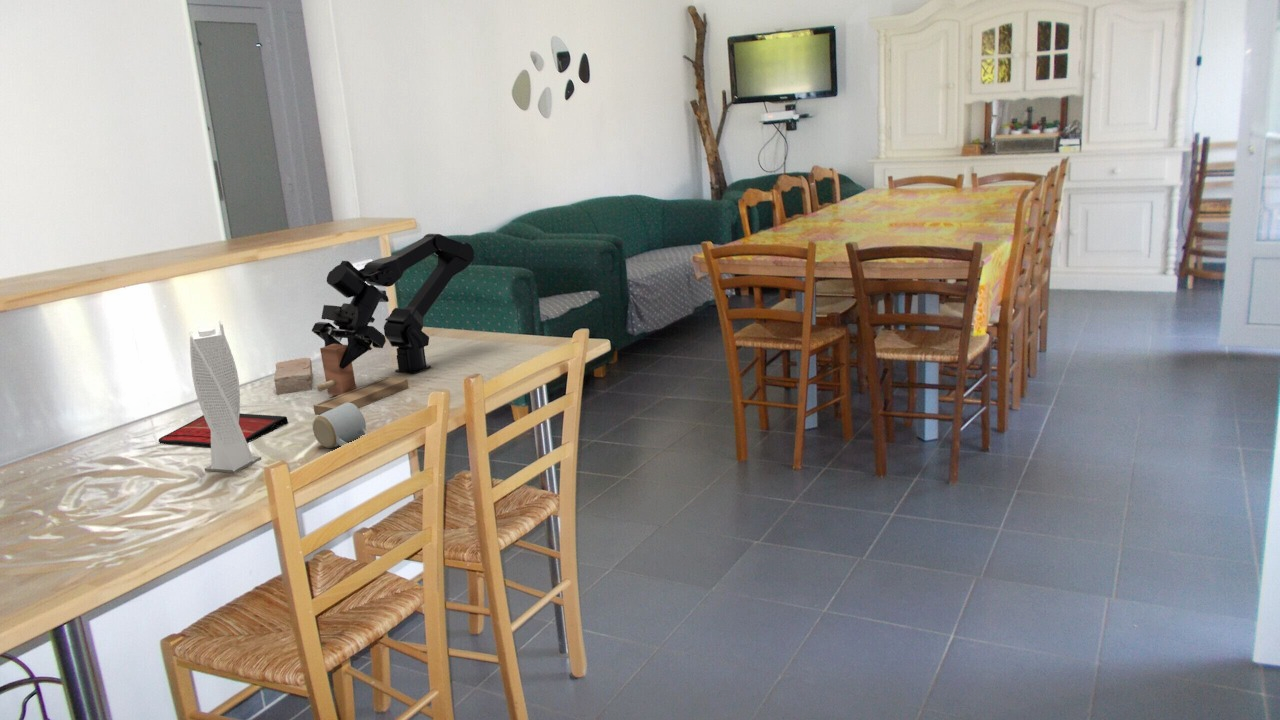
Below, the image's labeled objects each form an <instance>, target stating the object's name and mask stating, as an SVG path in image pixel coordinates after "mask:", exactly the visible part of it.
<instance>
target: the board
mask: <svg viewBox="0 0 1280 720" xmlns="http://www.w3.org/2000/svg"><path fill="white" fill-rule="evenodd" d="M408 388H409V382H408V379H406V378H398V377H390V376H389V377H388V376H387V377H384V378H382V379H378V380H376V381H373V382H370V383H368V384H366V385H363V386H360V387H356V389H355V390H352V391H349V392H347V393H344V394H341V395H339V396H337V395H335V396H333V397H331V398H328V399H325V400H323V401H319V402H317V403H315V404H313V411H314V415H318V416H319V415H321V414H322V413H324V412H327V411H329V410H331V409H334V408H336V407H338V406H340V405H342V404H344V403H352V404H354V405H355V406H357V407H358V408H359V409H360V408H361V407H362V408H363V407H365V406H366V405H369V404H371V403H374V402H376V401H378V400H381V399H383V398H386V397H389V396H392V395H393V394H396V393H399V392H401V391H403V390H406V389H408Z"/></svg>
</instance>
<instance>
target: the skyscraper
mask: <svg viewBox="0 0 1280 720" xmlns="http://www.w3.org/2000/svg"><path fill="white" fill-rule="evenodd" d="M218 324H219V325H218V326H219V329H218V330H216V327H208V328H207V327H206V328H202V329H199V330H198V333H193V332H192V331H190V332H189V334H188V335H189V351H190V352H189V353H190V354H189V355H190V368H191V375H192V376H191V377H192V381H193V387H194V391H195V396H196V397H197V398H196V399H197V401H198V404H199V406H200V410H201V412H202V416H203V415H204V417H205V420H206V422H207V424H208V426H209V428H210V430H211V447H210V464H211V465H209V466H207V467H206V468H204V471H205V472H216V473H217V472H218V473H228V474H229V473H230V474H235V473H236V474H237V473H238V472H240V471H242V470H244V469H246V468H248V467H249V466H251V465H253V464H255V463H256V462H258V461H259V462H260V461H261V460H262V457H261V456H254V455H253V454H252V452H251V449H250V447H249V445H248V442H246V439H245V437H244V435H243V432H242V430H241V428H240V426H239V414H240V411H241V390H240V389H241V388H240V387H241V386H240V381H239V374H238V370H237V365H236V362H235V358H234V355H233V354H232V350H231V348H230V345H229V342H228V341H227V340H228V339H227V337H226V335H225V331H224V324H223V321H222V320H221V319H220V320H218Z"/></svg>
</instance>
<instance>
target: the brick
mask: <svg viewBox="0 0 1280 720" xmlns="http://www.w3.org/2000/svg"><path fill="white" fill-rule="evenodd" d="M274 372H275V373H274V374H273V375H274V377H273V378H274V385H275V392H276V395H286V394H291V393H292V394H293V393H299V392H306V391H311V390H312V389H313V365H312V360H311V358H310V357H299V358H295V359H289V360H284V361H279V362H276V363H275V371H274Z"/></svg>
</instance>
